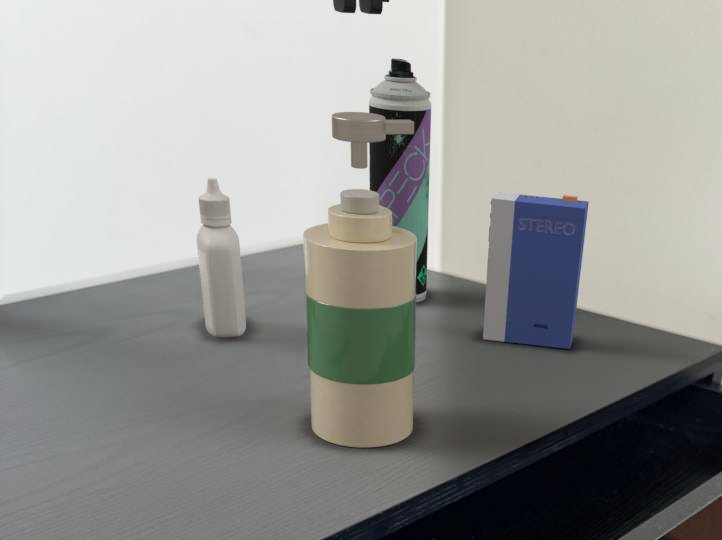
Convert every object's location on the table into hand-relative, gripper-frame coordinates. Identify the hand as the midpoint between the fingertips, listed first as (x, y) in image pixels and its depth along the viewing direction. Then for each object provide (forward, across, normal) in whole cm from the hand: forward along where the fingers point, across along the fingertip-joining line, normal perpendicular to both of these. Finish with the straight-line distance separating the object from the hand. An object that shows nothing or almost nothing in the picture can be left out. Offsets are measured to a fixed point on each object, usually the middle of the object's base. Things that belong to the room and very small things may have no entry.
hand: (357, 11), depth 55 cm
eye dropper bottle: (+25, +5, -23) cm, 34 cm away
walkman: (+25, -20, -14) cm, 35 cm away
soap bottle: (+25, 0, 0) cm, 25 cm away
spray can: (+25, -13, -29) cm, 41 cm away
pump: (+8, -1, 0) cm, 8 cm away
